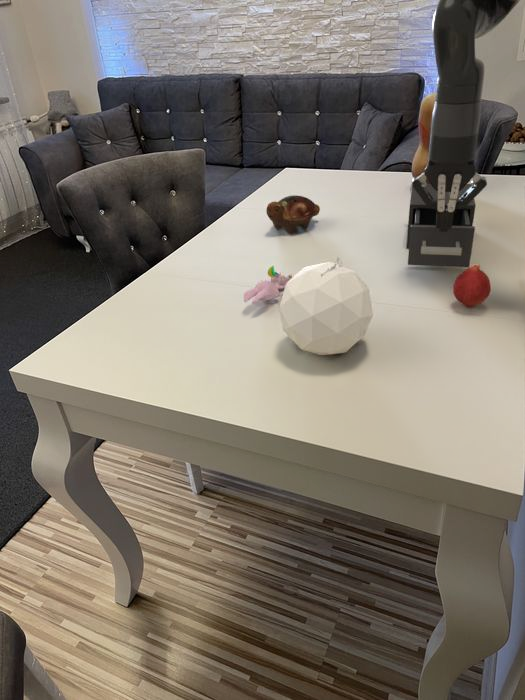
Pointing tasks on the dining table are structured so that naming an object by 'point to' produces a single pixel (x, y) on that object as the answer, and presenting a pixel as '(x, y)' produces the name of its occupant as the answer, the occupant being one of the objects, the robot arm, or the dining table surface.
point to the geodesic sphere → (325, 308)
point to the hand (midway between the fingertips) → (443, 230)
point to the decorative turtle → (292, 212)
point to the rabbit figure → (267, 287)
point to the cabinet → (419, 203)
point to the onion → (472, 286)
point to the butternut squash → (424, 135)
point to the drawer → (440, 240)
